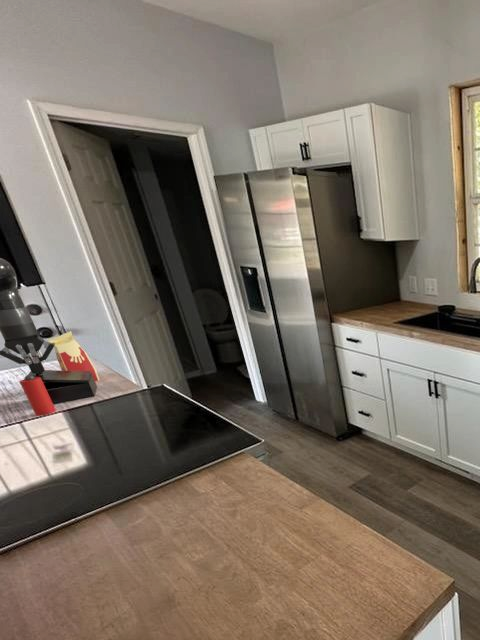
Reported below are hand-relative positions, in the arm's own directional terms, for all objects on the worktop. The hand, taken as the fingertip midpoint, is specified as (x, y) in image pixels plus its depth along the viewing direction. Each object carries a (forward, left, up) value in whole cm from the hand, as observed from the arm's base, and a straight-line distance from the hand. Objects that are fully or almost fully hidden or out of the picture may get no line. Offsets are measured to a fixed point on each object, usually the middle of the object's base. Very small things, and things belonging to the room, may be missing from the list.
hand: (39, 373), depth 136 cm
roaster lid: (+4, 0, -2) cm, 5 cm away
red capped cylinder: (0, -15, -10) cm, 18 cm away
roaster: (+4, 0, -10) cm, 11 cm away
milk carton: (+6, +19, -10) cm, 22 cm away
